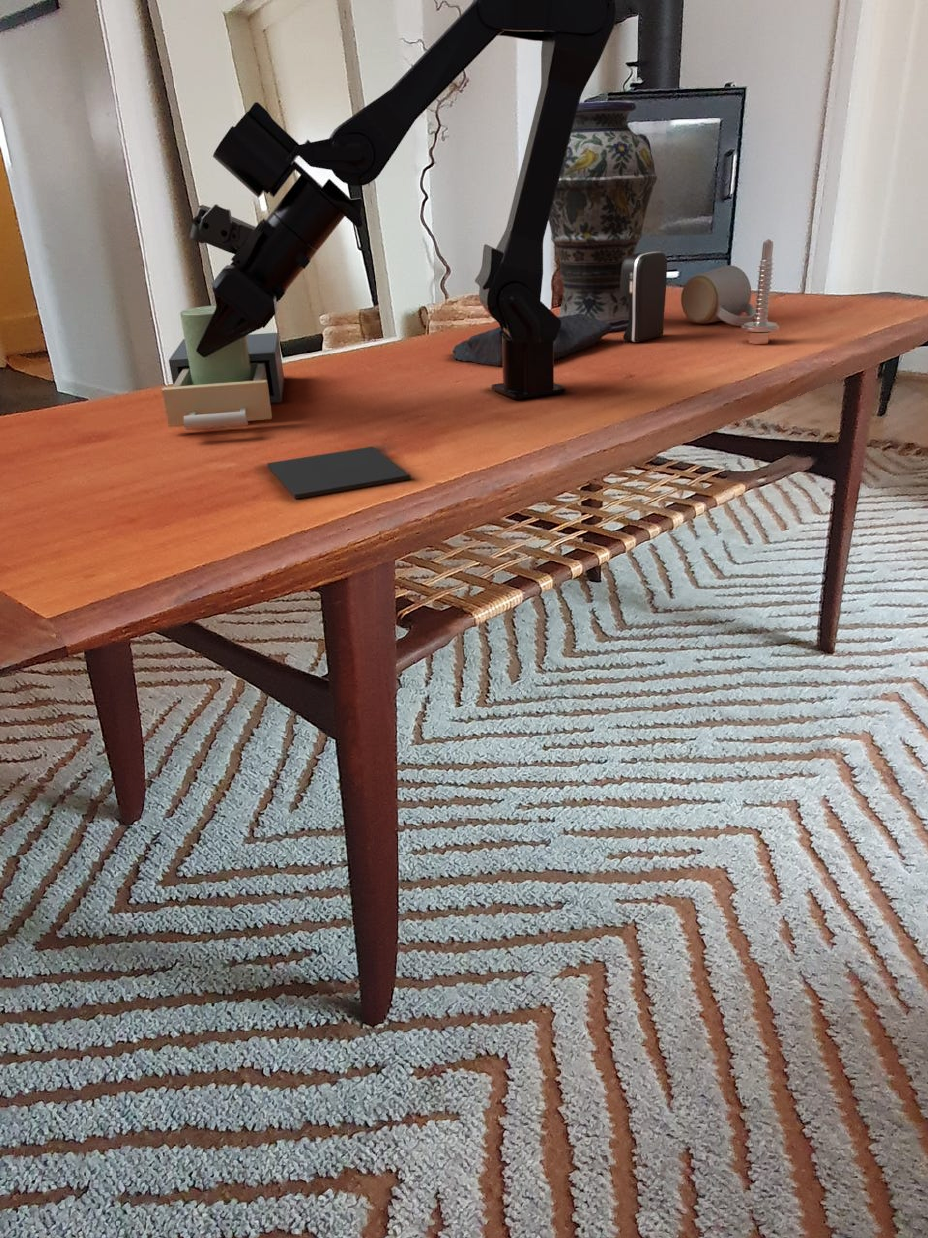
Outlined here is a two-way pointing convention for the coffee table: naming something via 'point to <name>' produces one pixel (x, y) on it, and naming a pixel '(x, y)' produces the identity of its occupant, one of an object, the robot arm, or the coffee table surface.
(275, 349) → the cabinet
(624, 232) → the vase
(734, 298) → the ceramic mug
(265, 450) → the coffee table surface
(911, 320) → the coffee table surface
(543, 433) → the coffee table surface
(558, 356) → the dark slate chunk
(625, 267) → the battery charger
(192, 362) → the can
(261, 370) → the drawer
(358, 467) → the coaster
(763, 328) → the screw
